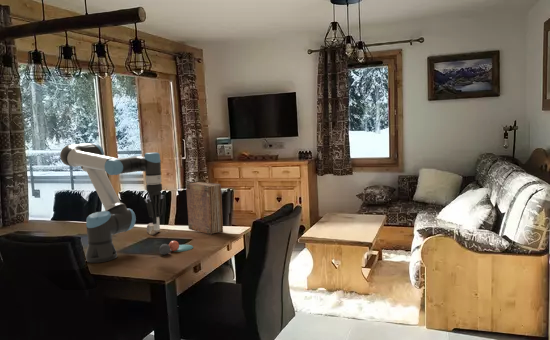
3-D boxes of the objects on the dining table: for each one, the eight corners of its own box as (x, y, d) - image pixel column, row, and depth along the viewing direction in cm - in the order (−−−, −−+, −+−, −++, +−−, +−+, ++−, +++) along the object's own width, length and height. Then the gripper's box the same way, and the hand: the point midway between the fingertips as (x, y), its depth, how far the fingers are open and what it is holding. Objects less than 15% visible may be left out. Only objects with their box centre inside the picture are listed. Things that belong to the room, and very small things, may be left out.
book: (223, 232, 277) (221, 184, 274) (210, 235, 271) (208, 185, 268) (200, 226, 296) (198, 181, 292) (188, 228, 289) (185, 182, 286)
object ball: (171, 249, 234) (173, 239, 236) (165, 249, 238) (168, 239, 240) (179, 252, 237) (182, 241, 239) (174, 252, 241) (176, 242, 243)
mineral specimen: (162, 234, 278) (162, 224, 277) (151, 235, 274) (150, 225, 273) (156, 230, 288) (155, 220, 288) (145, 232, 285) (144, 222, 284)
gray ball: (166, 240, 233) (172, 246, 236) (157, 244, 234) (164, 250, 237) (165, 247, 228) (172, 253, 232) (156, 252, 229) (163, 258, 233)
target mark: (183, 252, 235) (183, 252, 235) (163, 250, 241) (163, 249, 241) (198, 246, 247) (198, 245, 247) (179, 244, 253) (179, 243, 253)
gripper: (150, 185, 216) (153, 233, 219) (168, 182, 228) (171, 227, 230) (138, 185, 220) (141, 232, 222) (157, 181, 231) (159, 226, 234)
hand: (156, 229), depth 226 cm, fingers closed
